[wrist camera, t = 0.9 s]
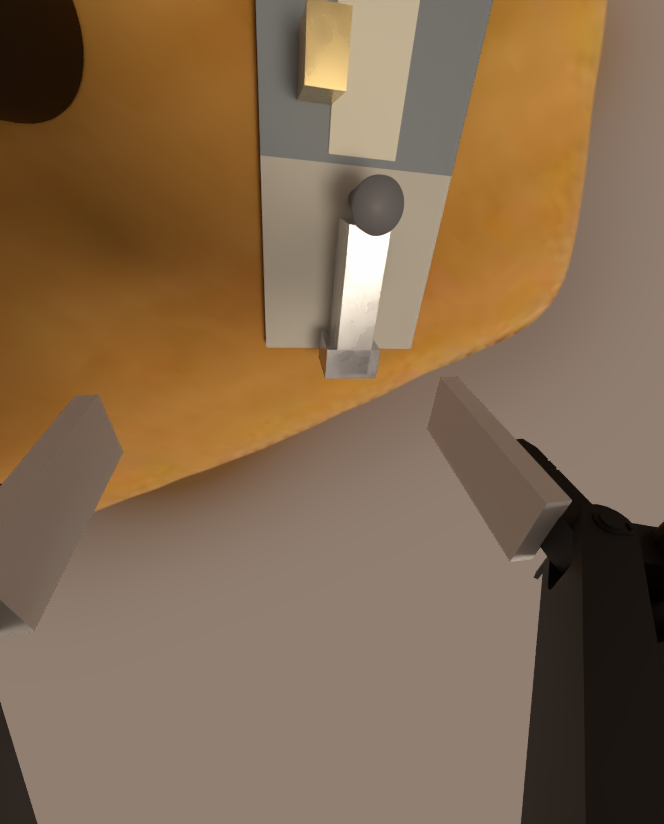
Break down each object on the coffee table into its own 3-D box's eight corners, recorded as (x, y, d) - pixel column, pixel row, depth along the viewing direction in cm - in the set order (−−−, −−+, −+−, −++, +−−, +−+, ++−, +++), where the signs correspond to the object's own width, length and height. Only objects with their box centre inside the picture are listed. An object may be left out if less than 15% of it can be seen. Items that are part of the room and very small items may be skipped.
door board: (266, 341, 32) (266, 379, 26) (251, -146, 17) (244, -307, 11) (406, 343, 34) (434, 378, 29) (502, -80, 19) (601, -183, 14)
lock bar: (328, 216, 25) (337, 223, 22) (385, 221, 26) (402, 228, 22) (318, 356, 31) (325, 378, 28) (364, 357, 32) (375, 378, 29)
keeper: (297, 100, 21) (304, 84, 17) (298, 31, 20) (307, -4, 16) (331, 105, 22) (346, 91, 18) (335, 37, 20) (352, 5, 16)
